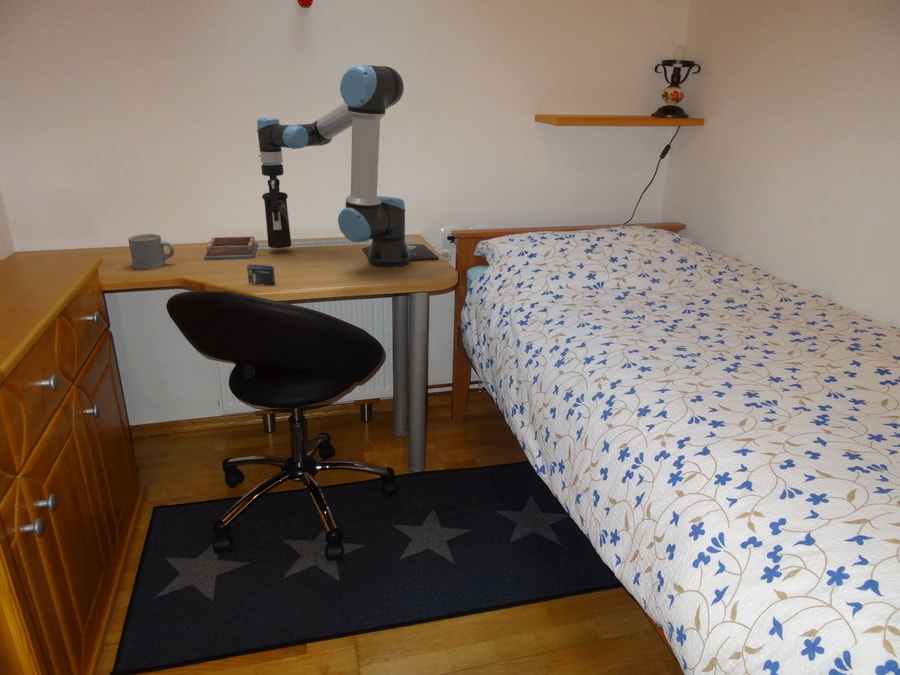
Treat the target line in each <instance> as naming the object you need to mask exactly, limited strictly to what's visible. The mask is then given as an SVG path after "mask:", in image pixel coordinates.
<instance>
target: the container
mask: <svg viewBox="0 0 900 675" xmlns="http://www.w3.org/2000/svg"><path fill="white" fill-rule="evenodd" d="M288 197H289V196H288V194H287V193H286V192H282V191H279V193H278V203H279V211H280V220H281V230H274V228H273V218H272V212H270V210H271V197H270V192H269V191H268V192H264V193H263V194H262V195H261V198H262V199H263V202H264V210H265V211H264V213H265V221H266V222H265V223H266V235H267V236H266V237H267V246H268V248H271V249H287V248H290V247H292V238H291V228H290V221H289V220H290V219H289V211H288V201H287V199H288ZM274 208H277V207H274Z"/></svg>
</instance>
